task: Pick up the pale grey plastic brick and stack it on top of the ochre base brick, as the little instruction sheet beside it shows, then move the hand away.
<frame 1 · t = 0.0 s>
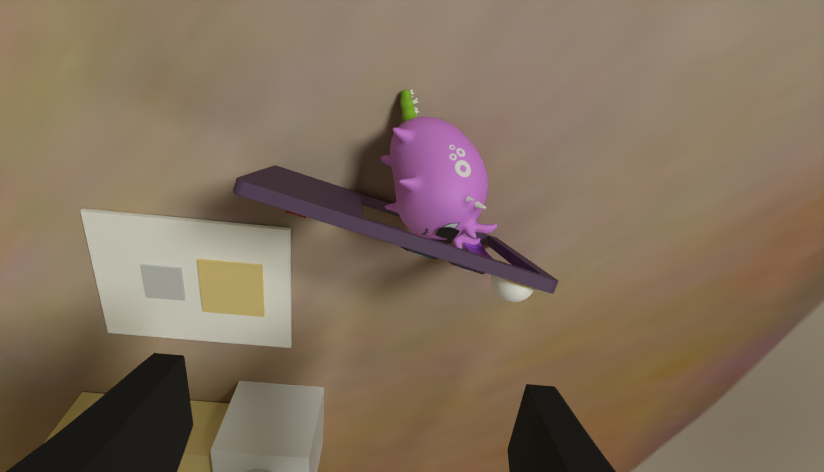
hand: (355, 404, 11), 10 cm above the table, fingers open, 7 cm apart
instruction sheet: (195, 281, 22), on the table
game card: (407, 154, 19), on the table
top brick: (282, 412, 26), on the table
base brick: (165, 446, 27), on the table
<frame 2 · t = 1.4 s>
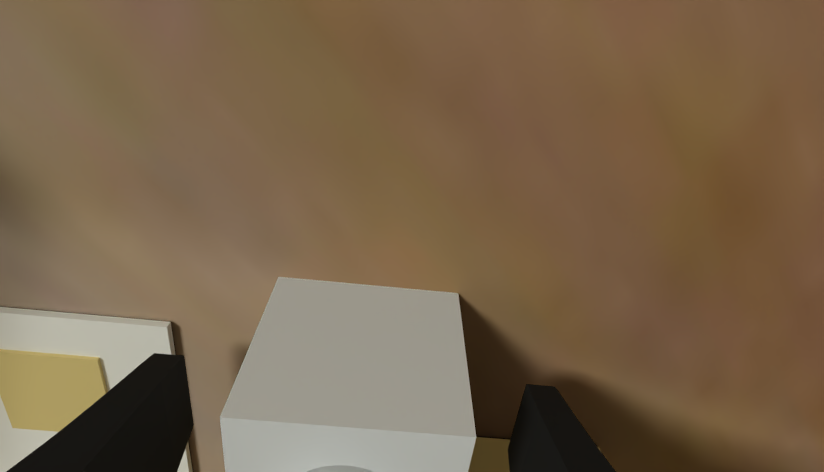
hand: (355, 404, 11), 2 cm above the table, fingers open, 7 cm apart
instruction sheet: (73, 430, 14), on the table
top brick: (363, 351, 13), on the table
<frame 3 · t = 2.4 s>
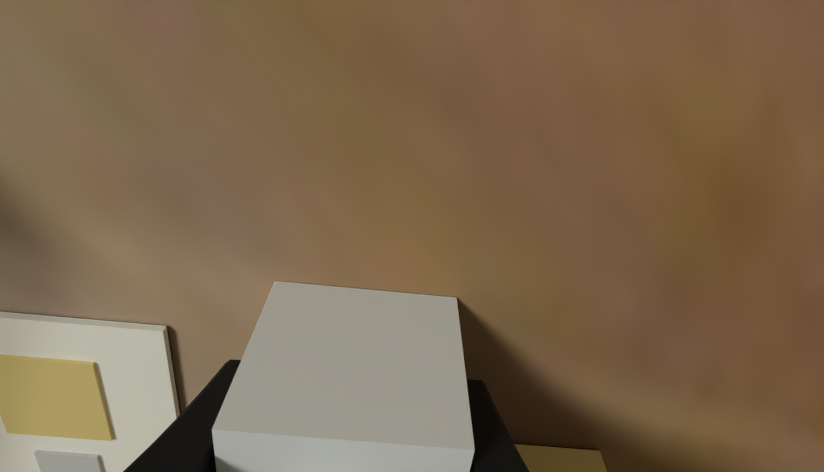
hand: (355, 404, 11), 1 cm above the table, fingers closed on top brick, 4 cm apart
instruction sheet: (68, 435, 14), on the table
top brick: (360, 358, 12), on the table, touching gripper
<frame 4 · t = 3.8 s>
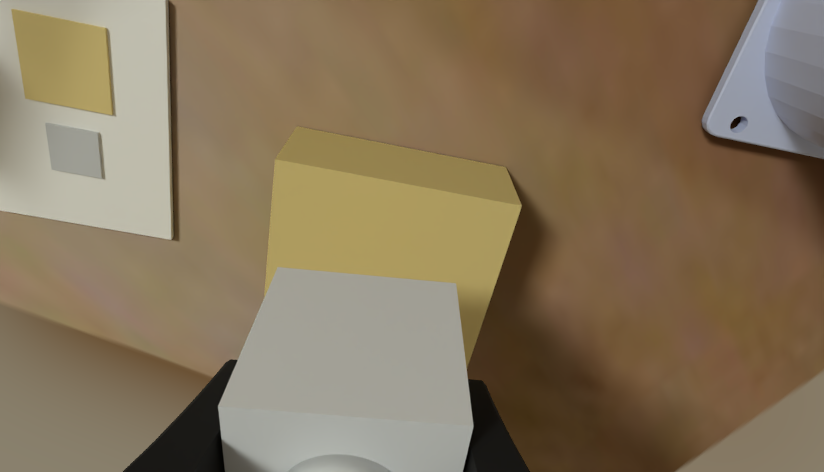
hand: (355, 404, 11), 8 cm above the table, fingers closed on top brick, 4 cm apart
instruction sheet: (75, 113, 17), on the table
top brick: (362, 343, 13), point 7 cm above the table, touching gripper
base brick: (384, 238, 19), on the table
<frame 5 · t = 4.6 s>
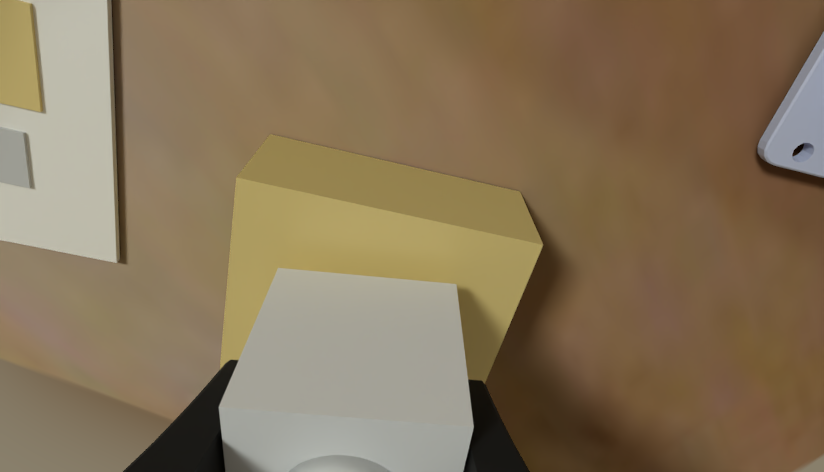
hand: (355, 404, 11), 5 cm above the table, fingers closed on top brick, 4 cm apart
top brick: (362, 344, 13), point 4 cm above the table, touching gripper
base brick: (372, 268, 16), on the table
when the fingers open (5 cm above the table, at t = 5.2 s): top brick stays where it is, resting on base brick.
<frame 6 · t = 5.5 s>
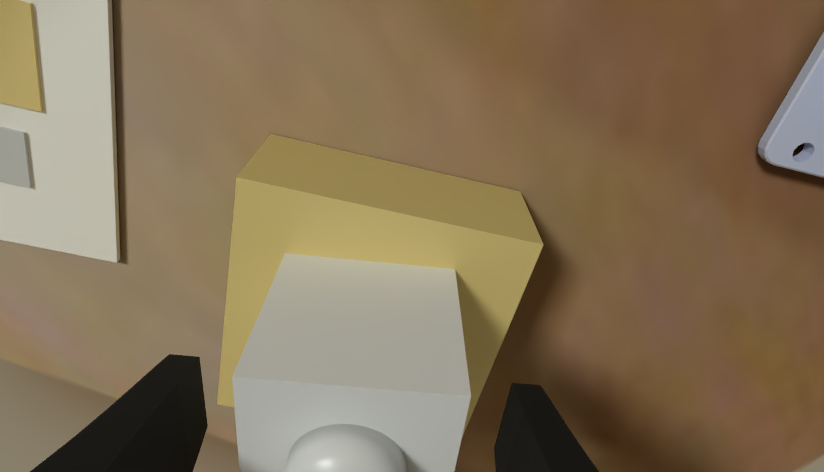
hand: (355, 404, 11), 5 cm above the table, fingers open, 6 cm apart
top brick: (365, 328, 13), point 3 cm above the table, touching base brick
base brick: (373, 268, 16), on the table
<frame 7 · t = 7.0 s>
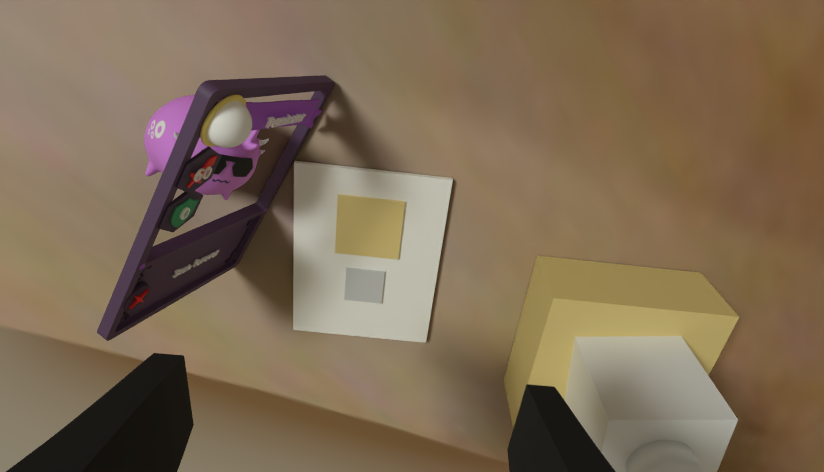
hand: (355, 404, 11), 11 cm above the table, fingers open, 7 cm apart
instruction sheet: (366, 258, 22), on the table
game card: (227, 148, 20), on the table
top brick: (618, 375, 21), point 3 cm above the table, touching base brick
base brick: (595, 329, 23), on the table
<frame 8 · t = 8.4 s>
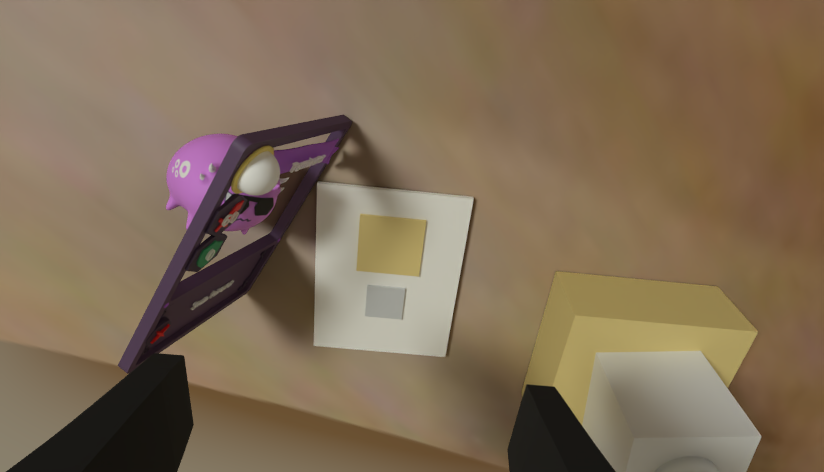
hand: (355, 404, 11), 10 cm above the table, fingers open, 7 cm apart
instruction sheet: (387, 275, 22), on the table
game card: (243, 180, 20), on the table
top brick: (638, 389, 21), point 3 cm above the table, touching base brick
base brick: (613, 342, 24), on the table
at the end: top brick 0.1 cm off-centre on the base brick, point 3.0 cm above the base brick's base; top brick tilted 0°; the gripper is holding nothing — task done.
